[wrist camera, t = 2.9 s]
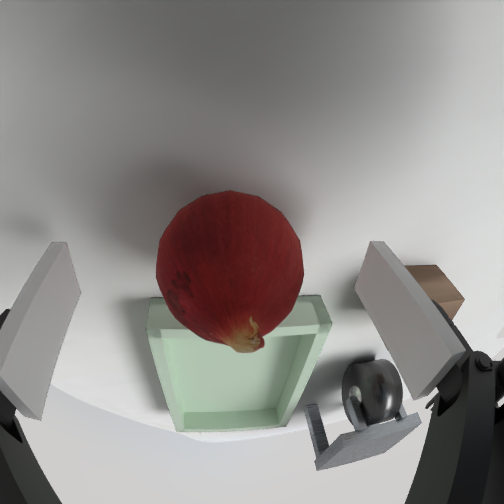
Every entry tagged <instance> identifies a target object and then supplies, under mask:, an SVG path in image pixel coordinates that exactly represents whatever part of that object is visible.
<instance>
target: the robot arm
mask: <svg viewBox="0 0 504 504" xmlns="http://www.w3.org/2000/svg"><path fill="white" fill-rule="evenodd" d="M354 289H355V291H356V293H357V295H358V296H359V298H360V300H361V302H362V303H363V305H364V307H365V309H366V310H367V312H368V314H369V316H370V317H371V319H372V321H373V323H374V325H375V326H376V328H377V330H378V332H379V334H380V336H381V337H382V339H383V341H384V343H385V345H386V347H387V349H388V351H389V352H390V354H391V356H392V358H393V360H394V362H395V364H396V366H397V368H398V370H399V372H400V374H401V376H402V378H403V380H404V382H405V384H406V386H407V388H408V390H409V392H410V394H411V396H412V398H413V400H417V399H419V398H422V397H425V396H428V395H429V394H430V393H431V392H432V391H433V389H434V388H435V387H437V389H438V391H439V392H438V393H437V394H436V395H435V396H434V397H433V398H432V400H430V401H429V403H428V404H427V405H426V407H425V408H426V409H428V408H429V407H430V406H431V405H432V404H433V403H434V405H433V407H432V409H431V411H432V414H431V419H430V423H429V428H428V432H427V436H426V440H425V444H424V447H423V451H422V454H421V458H420V461H419V465H418V468H417V471H416V474H415V477H414V480H413V483H412V485H411V488H410V491H409V494H408V497H407V499H406V502H405V504H504V404H503V405H502V406H501V407H498V403H497V402H498V401H499V400H500V399H502V398H503V396H504V358H503V359H502V360H501V361H492V360H491V358H490V357H489V356H488V355H487V354H485V353H483V352H481V351H474V352H473V350H472V349H471V347H470V346H469V344H468V343H467V341H466V340H465V339H464V337H463V336H462V334H461V333H460V331H459V330H458V328H457V327H456V326H455V325H454V323H453V321H452V320H451V319H450V318H449V316H448V315H447V313H446V312H445V310H444V309H443V308H442V307H441V306H440V305H439V304H438V303H436V302H435V301H434V300H430V298H429V297H428V296H427V294H426V293H425V292H424V290H423V289H422V288H421V286H420V285H419V284H418V283H417V281H416V280H415V279H414V277H413V276H412V275H411V274H410V272H409V271H408V270H407V269H406V268H405V266H404V265H403V264H402V263H401V261H400V260H399V259H398V258H397V257H396V255H395V254H394V253H393V252H392V251H391V249H390V248H389V247H388V246H387V245H386V244H385V242H384V241H370V243H369V246H368V250H367V253H366V256H365V259H364V261H363V264H362V267H361V270H360V273H359V276H358V279H357V281H356V284H355V287H354ZM80 295H81V290H80V287H79V283H78V280H77V277H76V274H75V270H74V267H73V264H72V260H71V257H70V253H69V249H68V245H67V242H52V243H51V244H50V246H49V247H48V249H47V250H46V252H45V253H44V255H43V256H42V258H41V259H40V261H39V262H38V264H37V265H36V267H35V269H34V270H33V272H32V273H31V275H30V277H29V278H28V280H27V282H26V283H25V285H24V287H23V288H22V290H21V292H20V294H19V295H18V297H17V299H16V301H15V303H14V304H13V306H12V308H11V309H6V310H5V311H4V312H3V313H2V314H1V315H0V504H62V503H61V501H60V500H59V498H58V496H57V495H56V493H55V492H54V490H53V489H52V487H51V485H50V484H49V482H48V480H47V478H46V477H45V475H44V473H43V471H42V469H41V468H40V466H39V464H38V462H37V460H36V458H35V456H34V454H33V452H32V450H31V448H30V446H29V444H28V441H27V440H26V437H25V435H24V433H23V431H22V428H21V426H20V423H19V421H18V419H17V418H16V416H15V411H16V409H17V410H18V411H19V412H21V414H22V415H24V416H25V417H29V418H33V419H37V420H40V421H41V418H42V414H43V409H44V405H45V401H46V397H47V393H48V389H49V386H50V382H51V379H52V375H53V372H54V368H55V365H56V362H57V359H58V355H59V352H60V349H61V346H62V343H63V340H64V337H65V334H66V332H67V329H68V326H69V323H70V321H71V318H72V315H73V313H74V310H75V307H76V305H77V302H78V300H79V297H80Z"/></svg>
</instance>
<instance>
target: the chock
mask: <svg viewBox="0 0 504 504" xmlns="http://www.w3.org/2000/svg"><path fill="white" fill-rule="evenodd" d="M405 268H406V269H407V270H408V271H409V272H410V274H411V275H412V276H413V277H414V279H415V280H416V281H417V283H418V284H419V285H420V286H421V288H422V289H423V290H424V292H425V293H426V294H427V296H428V297H429V298H430V300H434V301H435V302H436V303H438V304H439V305H440V306H441V307H442V308H443V309H444V310H445V312H446V313H447V315H448V316H449V318H450V319H451V320H452V319H453V318H454V316H455V315H456V313H457V311H458V310H459V308H460V307H461V305H462V303H463V301H464V300H465V299H464V297H463V296H462V295H461V294H460V292H459V291H458V290H457V289H456V288H455V286H454V285H453V284H452V283H451V281H450V280H449V279H448V278H447V277H446V275H445V274H444V273H443V272H442V271H441V270H440V268H439V267H438V266H437V265H415V266H405ZM375 327H376V326H375ZM376 329H377V328H376ZM377 331H378V330H377ZM381 338H382V337H381ZM382 340H383V339H382ZM383 342H384V341H383ZM384 344H385V343H384ZM385 346H386V345H385ZM386 348H387V347H386ZM387 350H388V349H387Z"/></svg>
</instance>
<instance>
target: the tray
mask: <svg viewBox="0 0 504 504" xmlns="http://www.w3.org/2000/svg"><path fill="white" fill-rule="evenodd" d="M331 326H332V321H331V319H330V316H329V314H328V312H327V309H326V307H325V305H324V302H323V300H322V298H321V295H314V296H298V297H297V300H296V302H295V305H294V307H293V310H292V311H291V312H290V314H289V315H288V316H287V317H286V318H285V319H284V320H283V321H282V322H281V323H280V324H279V325H278V326H277V327H276V328H275V329H274V330H273V331H272V332H270V333H268V334H267V335H265V336H263V339H264V343H265V345H264V348H260V349H259V350H257V351H255V352H252V353H238V352H236V351H235V350H234V349H232V348H231V347H230V346H227V345H224V344H219V343H214V342H210V341H206V340H204V339H202V338H200V337H199V336H197V335H196V334H194V333H193V332H192V331H190V330H189V329H187V328H186V327H185V326H183V325H182V324H181V323H180V322H179V321H178V320H176V319H175V317H174V316H173V315H172V313H171V312H170V311H169V309H168V306H167V304H166V302H165V300H164V298H151V301H150V306H149V312H148V318H147V324H146V332H147V336H148V340H149V344H150V348H151V351H152V355H153V359H154V362H155V366H156V370H157V373H158V376H159V380H160V383H161V386H162V390H163V393H164V396H165V399H166V402H167V405H168V408H169V411H170V414H171V417H172V420H173V423H174V426H175V429H176V431H177V432H227V431H245V430H258V429H268V428H278V427H286V426H287V424H288V422H289V420H290V418H291V416H292V414H293V412H294V410H295V408H296V406H297V404H298V401H299V399H300V397H301V395H302V393H303V391H304V389H305V387H306V384H307V382H308V380H309V378H310V376H311V373H312V371H313V369H314V367H315V364H316V362H317V360H318V357H319V355H320V353H321V350H322V348H323V346H324V343H325V341H326V338H327V336H328V333H329V331H330V328H331Z"/></svg>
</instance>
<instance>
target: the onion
mask: <svg viewBox="0 0 504 504" xmlns="http://www.w3.org/2000/svg"><path fill="white" fill-rule="evenodd" d="M303 277H304V268H303V259H302V250H301V244H300V240H299V238H298V237H297V235H296V233H295V232H294V230H293V228H292V227H291V225H290V224H289V222H288V220H287V219H286V218H285V216H284V215H283V214H282V213H281V211H279V210H278V209H276V208H275V207H273V206H272V205H270V204H269V203H267V202H266V201H264V200H263V199H261V198H260V197H258V196H254V195H249V194H245V193H240V192H236V191H231V190H229V191H224V192H219V193H214V194H209V195H204V196H201V197H199V198H198V199H196V200H194V201H193V202H191V203H190V204H188V205H187V206H185V207H183V208H182V209H180V210H179V211H178V213H177V214H176V216H175V217H174V218H173V220H172V221H171V223H170V224H169V225H168V227H167V228H166V230H165V231H164V233H163V235H162V237H161V239H160V242H159V248H158V255H157V262H156V279H157V282H158V285H159V288H160V290H161V293H162V295H163V297H164V300H165V302H166V304H167V306H168V309H169V311H170V312H171V313H172V315H173V316H174V317H175V319H176V320H178V321H179V322H180V323H181V324H182V325H183V326H185V327H186V328H187V329H189V330H190V331H192V332H193V333H194V334H196V335H197V336H199V337H200V338H202V339H204V340H206V341H210V342H214V343H219V344H224V345H227V346H230V347H231V348H232V349H234V350H235V351H236V352H238V353H252V352H255V351H257V350H259V349H260V348H264V345H265V343H264V339H263V336H265V335H267V334H268V333H270V332H272V331H273V330H274V329H275V328H276V327H277V326H278V325H279V324H280V323H281V322H282V321H283V320H284V319H285V318H286V317H287V316H288V315H289V314H290V312H291V311H292V310H293V307H294V305H295V302H296V300H297V297H298V294H299V292H300V289H301V286H302V282H303Z"/></svg>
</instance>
